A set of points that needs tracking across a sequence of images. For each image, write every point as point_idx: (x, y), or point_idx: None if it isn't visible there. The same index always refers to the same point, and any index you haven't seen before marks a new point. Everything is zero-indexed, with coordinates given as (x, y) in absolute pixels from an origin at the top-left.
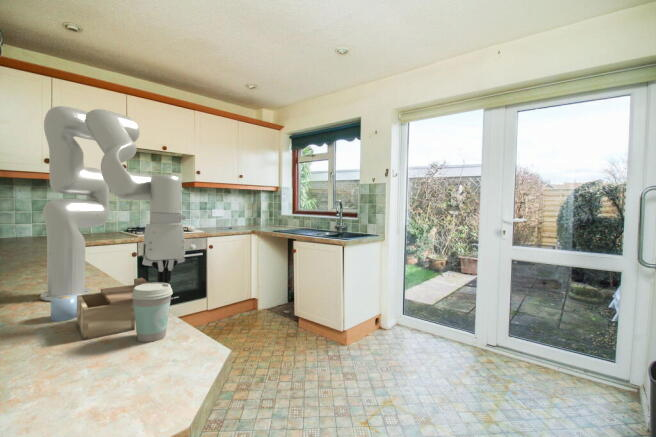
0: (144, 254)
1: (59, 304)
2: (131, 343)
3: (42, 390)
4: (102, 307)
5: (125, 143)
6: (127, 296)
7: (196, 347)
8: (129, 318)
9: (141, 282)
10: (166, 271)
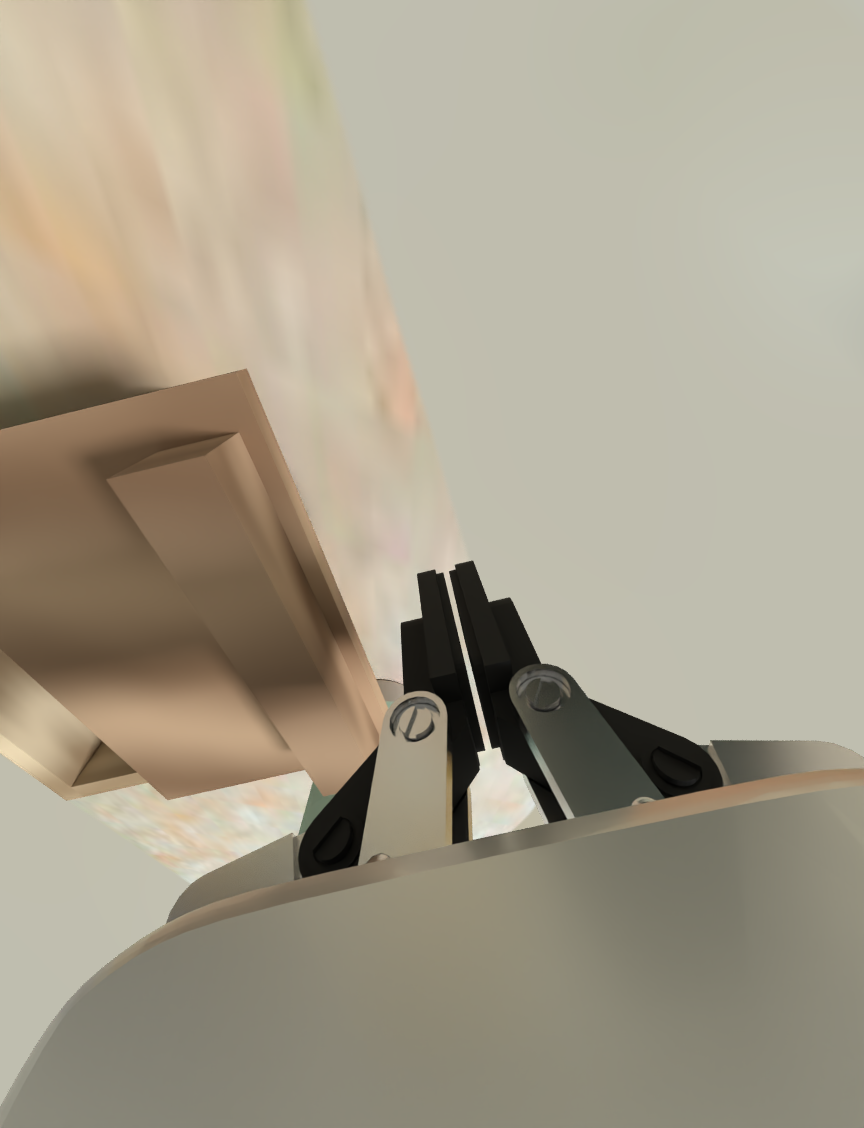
0: (21, 1116)
1: None
2: None
3: (197, 845)
4: (142, 781)
5: None
6: (224, 742)
7: (484, 782)
8: None
9: (260, 674)
10: (497, 744)
